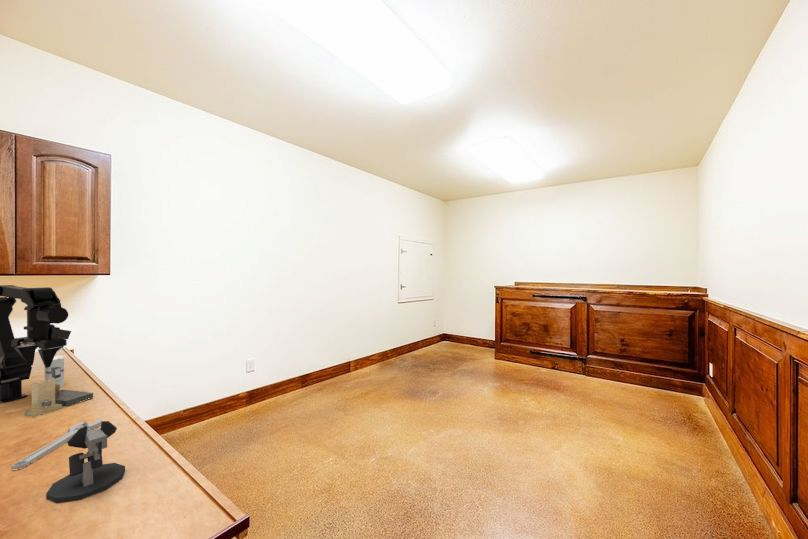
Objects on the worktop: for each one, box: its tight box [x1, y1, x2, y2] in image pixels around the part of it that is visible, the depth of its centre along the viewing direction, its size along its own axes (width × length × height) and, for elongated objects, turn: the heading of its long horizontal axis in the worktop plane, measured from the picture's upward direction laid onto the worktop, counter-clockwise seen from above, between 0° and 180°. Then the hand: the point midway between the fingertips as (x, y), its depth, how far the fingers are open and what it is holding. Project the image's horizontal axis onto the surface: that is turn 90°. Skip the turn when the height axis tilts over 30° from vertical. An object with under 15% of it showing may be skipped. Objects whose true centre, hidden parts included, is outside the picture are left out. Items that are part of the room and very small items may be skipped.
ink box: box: [44, 354, 65, 387], centre depth 139 cm, size 9×5×12 cm, turn 52°
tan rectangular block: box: [23, 380, 63, 418], centre depth 113 cm, size 5×7×10 cm
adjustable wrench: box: [11, 418, 103, 470], centre depth 91 cm, size 25×6×2 cm, turn 5°
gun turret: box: [45, 420, 126, 504], centre depth 76 cm, size 13×20×13 cm, turn 50°
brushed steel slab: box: [55, 384, 94, 407], centre depth 123 cm, size 16×8×5 cm, turn 74°
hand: (39, 366), depth 121 cm, fingers open, 9 cm apart
